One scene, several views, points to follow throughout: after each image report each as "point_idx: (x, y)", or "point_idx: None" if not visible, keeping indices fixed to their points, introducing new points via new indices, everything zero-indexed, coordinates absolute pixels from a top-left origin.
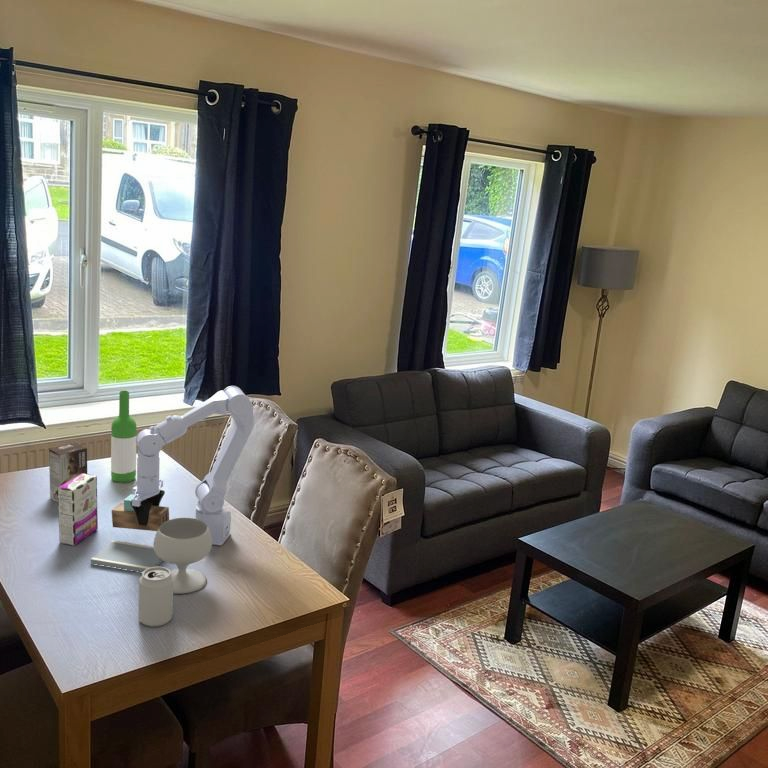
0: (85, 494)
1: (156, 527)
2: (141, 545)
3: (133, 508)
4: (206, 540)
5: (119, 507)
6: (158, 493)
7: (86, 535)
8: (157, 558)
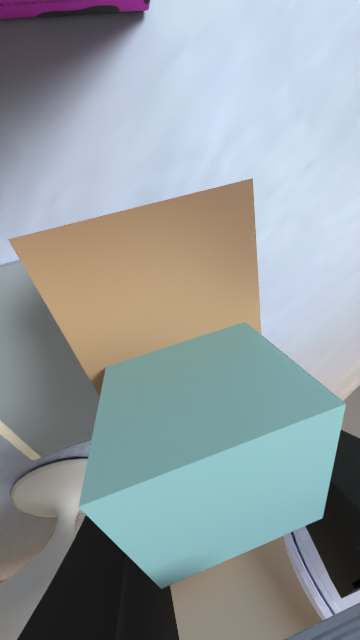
0: None
1: None
2: None
3: (64, 562)
4: None
5: (135, 271)
6: (349, 592)
7: (10, 9)
8: (92, 434)
